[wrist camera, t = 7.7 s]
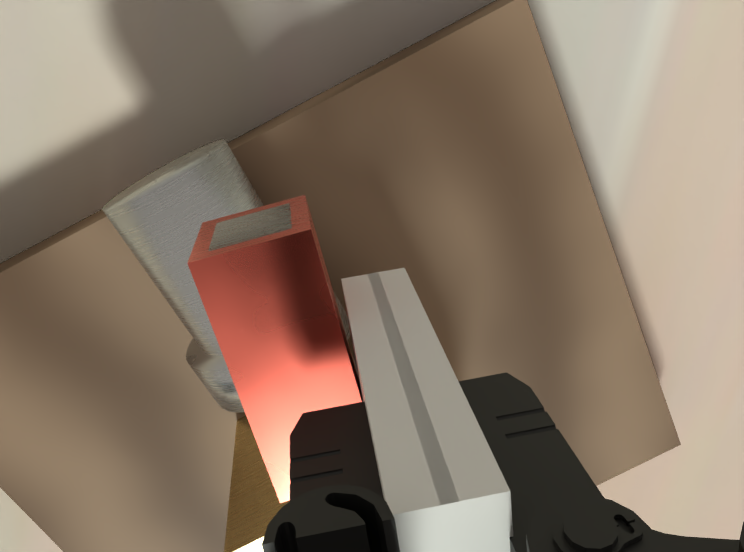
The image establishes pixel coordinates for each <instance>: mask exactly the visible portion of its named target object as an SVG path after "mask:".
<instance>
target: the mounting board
mask: <svg viewBox="0 0 744 552" xmlns="http://www.w3.org/2000/svg"><path fill="white" fill-rule="evenodd" d="M227 144H228V146H229V148H230V149H231V151H232V153H233V154H234V156H235V158H236V159H237V161H238V163H239V164H240V166H241V168H242V170H243V171H244V173H245V175H246V176H247V178H248V180H249V181H250V183H251V185H252V187H253V188H254V190H255V192H256V193H257V195H258V197H259V198H260V200H261V202H262V203H263V205H264V206H265V205H269V204H272V203H276V202H280V201H283V200H287V199H291V198H294V197H298V196H302V195H305V196H306V200H307V203H308V207H309V210H310V213H311V217H312V220H313V224H314V227H315V231H316V234H317V237H318V241H319V244H320V248H321V251H322V255H323V258H324V261H325V265H326V268H327V272H328V275H329V279H330V282H331V285H332V289H333V291H334V292H335V294H336V296H337V297H338V299H339V301H340V303H341V304H342V306H343V308H344V310H345V311H346V313H347V310H346V304H345V299H344V293H343V287H342V281H341V279H343V278H348V277H354V276H360V275H365V274H371V273H376V272H382V271H388V270H393V269H399V268H405V270H406V272H407V274H408V276H409V278H410V280H411V282H412V285H413V287H414V289H415V291H416V293H417V295H418V297H419V299H420V301H421V304H422V306H423V308H424V310H425V312H426V314H427V316H428V318H429V320H430V323H431V325H432V327H433V329H434V331H435V333H436V335H437V337H438V339H439V342H440V344H441V346H442V348H443V350H444V352H445V354H446V356H447V358H448V360H449V363H450V365H451V367H452V369H453V371H454V373H455V375H456V377H457V379H458V381H463V380H468V379H474V378H479V377H484V376H490V375H495V374H500V373H506V372H507V373H509V374H510V375H512V376H513V377H515V378H517V379H518V380H520V381H521V382H523V383H525V384H526V385H528V386H529V387H531V389H532V390H533V392H534V393H535V395H536V396H537V398H538V399H539V401H540V402H541V404H542V405H543V407H544V410H545V412H547V413H548V414H549V416H550V417H551V419H552V420H553V422H554V423H555V426H556V429H559V431H560V432H561V434H562V435H563V437H564V438H565V440H566V441H567V443H568V444H569V446H570V447H571V449H572V450H573V452H574V453H575V455H576V456H577V458H578V459H579V461H580V462H581V464H582V465H583V467H584V468H585V470H586V471H587V473H588V474H589V476H590V478H591V479H592V481H593V482H594V484H595V485H596V486H597V485H599V484H601V483H603V482H605V481H607V480H609V479H611V478H613V477H615V476H617V475H619V474H621V473H623V472H625V471H627V470H630V469H632V468H634V467H636V466H638V465H640V464H642V463H644V462H646V461H648V460H650V459H652V458H654V457H656V456H658V455H660V454H662V453H664V452H666V451H668V450H671V449H673V448H675V447H677V446H679V445H681V444H680V441H679V438H678V435H677V432H676V429H675V426H674V423H673V420H672V418H671V415H670V412H669V409H668V406H667V403H666V400H665V397H664V394H663V392H662V389H661V386H660V383H659V380H658V377H657V374H656V371H655V368H654V366H653V363H652V360H651V357H650V354H649V351H648V348H647V345H646V342H645V340H644V337H643V334H642V331H641V328H640V325H639V322H638V319H637V316H636V314H635V311H634V308H633V305H632V302H631V299H630V296H629V293H628V290H627V288H626V285H625V282H624V279H623V276H622V273H621V270H620V267H619V264H618V262H617V259H616V256H615V253H614V250H613V247H612V244H611V241H610V238H609V235H608V233H607V230H606V227H605V224H604V221H603V218H602V215H601V212H600V209H599V207H598V204H597V201H596V198H595V195H594V192H593V189H592V186H591V183H590V181H589V178H588V175H587V172H586V169H585V166H584V163H583V160H582V157H581V155H580V152H579V149H578V146H577V143H576V140H575V137H574V134H573V131H572V129H571V126H570V123H569V120H568V117H567V114H566V111H565V108H564V105H563V103H562V100H561V97H560V94H559V91H558V88H557V85H556V82H555V79H554V76H553V74H552V71H551V68H550V65H549V62H548V59H547V56H546V53H545V50H544V48H543V45H542V42H541V39H540V36H539V33H538V30H537V27H536V24H535V22H534V19H533V16H532V13H531V10H530V7H529V4H528V1H527V0H496V1H494V2H492V3H490V4H489V5H487V6H485V7H483V8H481V9H479V10H477V11H475V12H473V13H472V14H470V15H468V16H466V17H464V18H462V19H460V20H458V21H457V22H455V23H453V24H451V25H449V26H447V27H445V28H443V29H441V30H440V31H438V32H436V33H434V34H432V35H430V36H428V37H426V38H424V39H423V40H421V41H419V42H417V43H415V44H413V45H411V46H409V47H408V48H406V49H404V50H402V51H400V52H398V53H396V54H394V55H392V56H391V57H389V58H387V59H385V60H383V61H381V62H379V63H377V64H375V65H374V66H372V67H370V68H368V69H366V70H364V71H362V72H360V73H359V74H357V75H355V76H353V77H351V78H349V79H347V80H345V81H343V82H342V83H340V84H338V85H336V86H334V87H332V88H330V89H328V90H327V91H325V92H323V93H321V94H319V95H317V96H315V97H313V98H311V99H310V100H308V101H306V102H304V103H302V104H300V105H298V106H296V107H294V108H293V109H291V110H289V111H287V112H285V113H283V114H281V115H279V116H278V117H276V118H274V119H272V120H270V121H268V122H266V123H264V124H262V125H261V126H259V127H257V128H255V129H253V130H251V131H249V132H247V133H246V134H244V135H242V136H240V137H238V138H236V139H234V140H232V141H230V142H229V143H227ZM192 339H193V337H192V336H191V334H190V333H189V332H188V330H187V329H186V327H185V326H184V325H183V323H182V322H181V320H180V319H179V318H178V316H177V315H176V313H175V312H174V310H173V309H172V308H171V306H170V305H169V303H168V302H167V301H166V299H165V298H164V296H163V295H162V294H161V292H160V291H159V289H158V288H157V287H156V285H155V284H154V282H153V281H152V279H151V278H150V277H149V275H148V274H147V272H146V271H145V270H144V268H143V267H142V265H141V264H140V263H139V261H138V260H137V258H136V257H135V256H134V254H133V253H132V251H131V250H130V248H129V247H128V246H127V244H126V243H125V241H124V240H123V239H122V237H121V236H120V234H119V233H118V232H117V230H116V229H115V227H114V226H113V224H112V223H111V222H110V220H109V219H108V217H107V216H106V215H105V213H104V212H103V210H100V211H99V212H97V213H95V214H93V215H91V216H89V217H87V218H85V219H83V220H82V221H80V222H78V223H76V224H74V225H72V226H70V227H68V228H67V229H65V230H63V231H61V232H59V233H57V234H55V235H53V236H51V237H50V238H48V239H46V240H44V241H42V242H40V243H38V244H36V245H35V246H33V247H31V248H29V249H27V250H25V251H23V252H21V253H19V254H18V255H16V256H14V257H12V258H10V259H8V260H6V261H4V262H2V263H1V264H0V488H1V489H2V490H3V491H4V492H5V493H6V494H7V495H8V496H9V497H10V498H11V499H12V500H13V501H14V502H15V503H16V504H17V505H18V506H19V507H20V508H21V509H22V510H23V511H24V512H25V513H26V514H27V515H28V516H29V517H30V518H31V519H32V520H33V521H34V522H35V523H36V524H37V525H38V526H39V527H40V528H41V529H42V530H43V531H44V532H45V533H46V534H47V535H48V536H49V537H50V538H51V539H52V540H53V541H54V542H55V543H56V544H57V545H58V547H59V548H60V549H61V550H62V551H63V552H224V546H225V536H226V526H227V516H228V506H229V495H230V485H231V475H232V465H233V455H234V445H235V434H236V424H237V420H238V419H240V418H242V417H244V416H246V414H245V412H230V411H226V410H224V409H222V408H221V407H220V406H219V405H218V404H217V402H216V401H215V400H214V398H213V397H212V395H211V394H210V393H209V391H208V390H207V389H206V387H205V386H204V384H203V383H202V382H201V380H200V379H199V378H198V376H197V375H196V373H195V372H194V371H193V369H192V368H191V367H190V365H189V364H188V362H187V360H186V352H187V349H188V346H189V344H190V342H191V341H192ZM348 344H349V347H350V351H351V354H352V356H353V358H354V360H355V357H354V351H353V345H352V340H351V334H350V338H349V340H348Z"/></svg>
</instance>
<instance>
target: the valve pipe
mask: <svg viewBox="0 0 744 552" xmlns="http://www.w3.org/2000/svg"><path fill="white" fill-rule="evenodd" d="M261 206H264V205H263V203H262V202H261V200H260V198H259V197H258V195H257V193H256V192H255V190H254V188H253V187H252V185H251V183H250V181H249V180H248V178H247V176H246V175H245V173H244V171H243V170H242V168H241V166H240V164H239V163H238V161H237V159H236V158H235V156H234V154H233V153H232V151H231V149H230V148H229V146H228V144H227V142H226V141H225V140H224V139H222V140H218V141H215V142H212V143H209V144H207V145H204V146H202V147H200V148H198V149H196V150H193V151H191V152H189V153H187V154H185V155H183V156H181V157H179V158H178V159H176V160H174V161H172V162H170V163H168V164H166V165H165V166H163V167H161V168H159V169H158V170H156V171H154V172H152V173H151V174H149V175H147V176H146V177H144V178H142V179H141V180H139V181H137V182H136V183H134V184H133V185H131V186H130V187H128V188H127V189H125V190H124V191H122V192H121V193H119V194H118V195H117V196H115V197H114V198H113V199H111V200H110V201H109V202H108V203H106V204H105V205H104V207H103V208H102V210H103V212H104V213H105V215H106V216H107V217H108V219H109V220H110V222H111V223H112V224H113V226H114V227H115V229H116V230H117V232H118V233H119V234H120V236H121V237H122V239H123V240H124V241H125V243H126V244H127V246H128V247H129V248H130V250H131V251H132V253H133V254H134V256H135V257H136V258H137V260H138V261H139V263H140V264H141V265H142V267H143V268H144V270H145V271H146V272H147V274H148V275H149V277H150V278H151V279H152V281H153V282H154V284H155V285H156V287H157V288H158V289H159V291H160V292H161V294H162V295H163V296H164V298H165V299H166V301H167V302H168V303H169V305H170V306H171V308H172V309H173V310H174V312H175V313H176V315H177V316H178V318H179V319H180V320H181V322H182V323H183V325H184V326H185V327H186V329H187V330H188V332H189V333H190V334H191V336H192V337H193V339H192V341H191V342H190V344H189V346H188V349H187V352H186V360H187V362H188V364H189V365H190V367H191V368H192V369H193V371H194V372H195V373H196V375H197V376H198V378H199V379H200V380H201V382H202V383H203V384H204V386H205V387H206V389H207V390H208V391H209V393H210V394H211V395H212V397H213V398H214V400H215V401H216V402H217V404H218V405H219V406H220V407H221V408H222V409H224V410H226V411H230V412H245V411H244V409H243V406H242V403H241V401H240V398H239V396H238V393H237V390H236V388H235V385H234V383H233V380H232V378H231V375H230V372H229V370H228V367H227V365H226V362H225V359H224V357H223V354H222V352H221V349H220V347H219V344H218V341H217V339H216V336H215V334H214V331H213V328H212V326H211V323H210V321H209V318H208V316H207V313H206V310H205V308H204V305H203V303H202V300H201V297H200V295H199V292H198V290H197V287H196V285H195V282H194V279H193V277H192V274H191V272H190V269H189V266H188V264H187V263H188V260H189V257H190V255H191V252H192V249H193V246H194V244H195V241H196V238H197V236H198V233H199V230H200V228H201V225H202V223H203V222H206V221H210V220H214V219H217V218H221V217H225V216H228V215H232V214H236V213H239V212H243V211H247V210H250V209H254V208H258V207H261ZM333 292H334V291H333ZM334 296H335V299H336V303H337V306H338V309H339V313H340V316H341V320H342V323H343V327H344V330H345V333H346V337H347V340H349V338H350V328H349V322H348V316H347V313H346V311H345V310H344V308H343V306H342V304H341V303H340V301H339V299H338V297H337V296H336V294H335V292H334ZM352 357H353V356H352ZM353 361H354V364H355V368H356V363H355V360H354V358H353ZM356 371H357V369H356ZM289 502H290V500H289V501H286V502H282V503H280V502H279V499H278V496H277V494H276V491H275V489H274V486H273V483H272V481H271V478H270V476H269V473H268V471H267V468H266V465H265V463H264V460H263V458H262V455H261V452H260V450H259V447H258V445H257V442H256V440H255V437H254V434H253V432H252V429H251V427H250V424H249V421H248V419H247V416H244V417H242V418H240V419H238V420H237V424H236V434H235V445H234V455H233V465H232V475H231V485H230V495H229V506H228V516H227V526H226V536H225V546H224V552H264V551H263V547H262V542H263V539H264V536H265V532H266V529H267V526H268V524H269V522H270V521H271V520H272V519H273V518H274V516H275V515H276V514H277V513H278V511H279V510H280V509H281V508H282V507H283V506H284V505H286V504H287V503H289Z"/></svg>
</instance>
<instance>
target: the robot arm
mask: <svg viewBox="0 0 744 552" xmlns="http://www.w3.org/2000/svg"><path fill="white" fill-rule="evenodd" d="M341 281H342V287H343V293H344V299H345V304H346V310H347V316H348V322H349V328H350V334H351V340H352V345H353V351H354V357H355V363H356V369H357V375H358V380H359V385H360V390H361V395H362V399H363V402H359V403H353V404H348V405H343V406H337V407H332V408H326V409H321V410H316V411H310V412H305V413H302V415H301V417H300V419H299V420H298V422H297V424H296V425H295V427H294V429H293V431H292V432H291V434H290V502H289V503H287V504H286V505H284V506H283V507H282V508H281V509H280V510H279V511H278V513H277V514H276V515H275V516H274V518H273V519H272V520H271V521H270V522H269V524H268V526H267V529H266V532H265V536H264V539H263V542H262V547H263V551H264V552H744V522H743V526H742V531H741V536H740V540H729V539H714V538H699V537H684V536H678V535H671V534H664V533H661V532H658V531H655V530H652V529H651V528H650V527H649V526H648V525H647V524H646V523H645V522H644V521H643V520H642V519H641V518H640V517H639V516H638V515H636V514H635V513H634V512H633V511H632V510H630V509H628V508H626V507H624V506H622V505H620V504H618V503H616V502H614V501H612V500H608V499H605V498H604V497H603V496H602V494H601V493H600V491H599V490H598V488H597V487H596V485H595V484H594V482H593V481H592V479H591V478H590V476H589V474H588V473H587V471H586V470H585V468H584V467H583V465H582V464H581V462H580V461H579V459H578V458H577V456H576V455H575V453H574V452H573V450H572V449H571V447H570V446H569V444H568V443H567V441H566V440H565V438H564V437H563V435H562V434H561V432H560V431H559V429H556V426H555V423H554V422H553V420H552V419H551V417H550V416H549V414H548V413H547V412H545V410H544V407H543V405H542V404H541V402H540V401H539V399H538V398H537V396H536V395H535V393H534V392H533V390H532V389H531V387H529V386H528V385H526V384H525V383H523V382H521V381H520V380H518V379H517V378H515V377H513V376H512V375H510V374H509V373H507V372H506V373H500V374H495V375H490V376H484V377H479V378H474V379H468V380H463V381H458V379H457V377H456V375H455V373H454V371H453V369H452V367H451V365H450V363H449V360H448V358H447V356H446V354H445V352H444V350H443V348H442V346H441V344H440V342H439V339H438V337H437V335H436V333H435V331H434V329H433V327H432V325H431V323H430V320H429V318H428V316H427V314H426V312H425V310H424V308H423V306H422V304H421V301H420V299H419V297H418V295H417V293H416V291H415V289H414V287H413V285H412V282H411V280H410V278H409V276H408V274H407V272H406V270H405V268H399V269H393V270H388V271H382V272H376V273H371V274H365V275H360V276H354V277H348V278H343V279H341Z"/></svg>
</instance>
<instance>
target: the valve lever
mask: <svg viewBox="0 0 744 552" xmlns="http://www.w3.org/2000/svg"><path fill="white" fill-rule="evenodd" d="M187 264H188V266H189V269H190V272H191V274H192V277H193V279H194V282H195V285H196V287H197V290H198V292H199V295H200V297H201V300H202V303H203V305H204V308H205V310H206V313H207V316H208V318H209V321H210V323H211V326H212V328H213V331H214V334H215V336H216V339H217V341H218V344H219V347H220V349H221V352H222V354H223V357H224V359H225V362H226V365H227V367H228V370H229V372H230V375H231V378H232V380H233V383H234V385H235V388H236V390H237V393H238V396H239V398H240V401H241V403H242V406H243V409H244V411H245V414H246V416H247V419H248V421H249V424H250V427H251V429H252V432H253V434H254V437H255V440H256V442H257V445H258V447H259V450H260V452H261V455H262V458H263V460H264V463H265V465H266V468H267V471H268V473H269V476H270V478H271V481H272V483H273V486H274V489H275V491H276V494H277V496H278V499H279V502H280V503H282V502H286V501H289V500H290V434H291V432H292V431H293V429H294V427H295V425H296V424H297V422H298V420H299V419H300V417H301V415H302V413H305V412H310V411H316V410H321V409H326V408H332V407H337V406H343V405H348V404H353V403H359V402H363V399H362V395H361V390H360V385H359V380H358V375H357V371H356V368H355V364H354V361H353V357H352V354H351V351H350V347H349V344H348V340H347V337H346V333H345V330H344V327H343V323H342V320H341V316H340V313H339V309H338V306H337V303H336V299H335V296H334V292H333V289H332V285H331V282H330V279H329V275H328V272H327V268H326V265H325V261H324V258H323V255H322V251H321V248H320V244H319V241H318V237H317V234H316V231H315V227H314V224H313V220H312V217H311V213H310V210H309V207H308V203H307V200H306V196H305V195H302V196H298V197H294V198H291V199H287V200H283V201H280V202H276V203H272V204H269V205H265V206H261V207H258V208H254V209H250V210H247V211H243V212H239V213H236V214H232V215H228V216H225V217H221V218H217V219H214V220H210V221H206V222H203V223H202V225H201V228H200V230H199V233H198V236H197V238H196V241H195V244H194V246H193V249H192V252H191V255H190V257H189V260H188V263H187Z"/></svg>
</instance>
